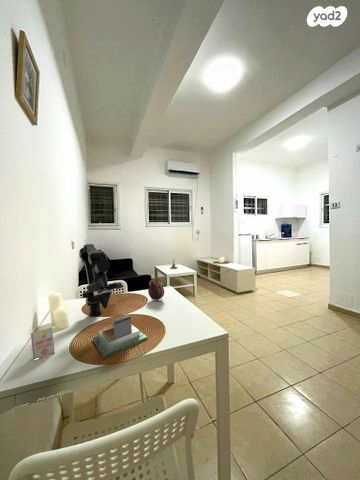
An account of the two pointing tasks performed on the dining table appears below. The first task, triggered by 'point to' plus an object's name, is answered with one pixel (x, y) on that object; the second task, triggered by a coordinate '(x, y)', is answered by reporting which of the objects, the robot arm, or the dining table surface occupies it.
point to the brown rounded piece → (156, 289)
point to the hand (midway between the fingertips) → (105, 308)
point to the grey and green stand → (118, 337)
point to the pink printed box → (42, 343)
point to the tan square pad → (111, 326)
